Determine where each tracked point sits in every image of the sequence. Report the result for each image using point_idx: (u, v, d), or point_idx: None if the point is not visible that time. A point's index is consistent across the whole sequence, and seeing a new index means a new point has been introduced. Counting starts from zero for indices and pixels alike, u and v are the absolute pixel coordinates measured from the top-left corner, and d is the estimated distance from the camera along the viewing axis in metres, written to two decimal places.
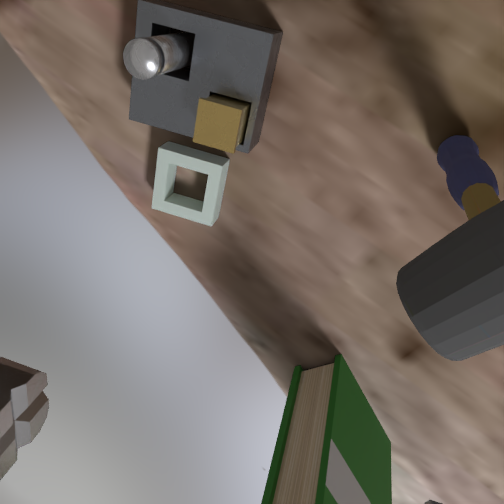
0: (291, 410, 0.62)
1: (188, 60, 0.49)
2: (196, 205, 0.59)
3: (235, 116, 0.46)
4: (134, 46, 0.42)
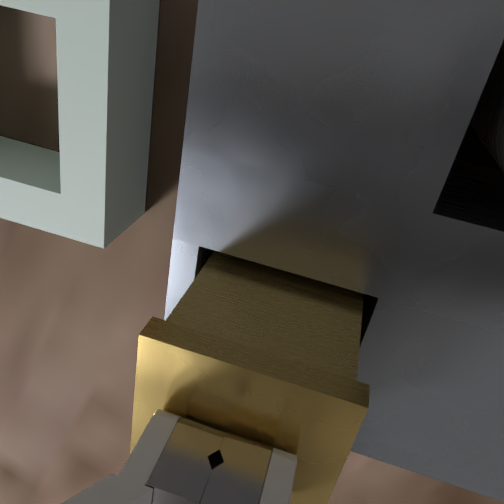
0: None
1: None
2: None
3: None
4: None
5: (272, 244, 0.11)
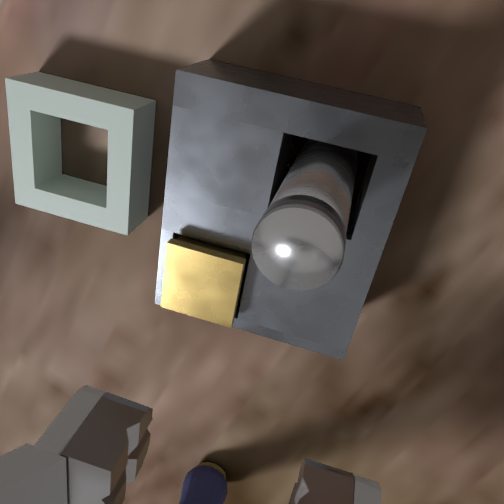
0: None
1: None
2: (46, 164, 0.31)
3: (219, 317, 0.27)
4: (325, 242, 0.17)
5: (204, 231, 0.26)
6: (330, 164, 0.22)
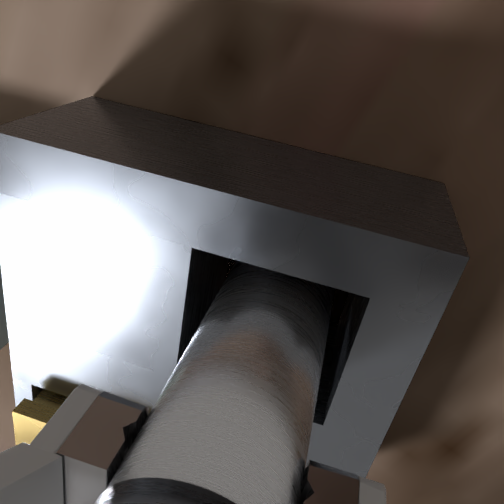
0: None
1: None
2: None
3: None
4: None
5: None
6: (275, 321, 0.11)
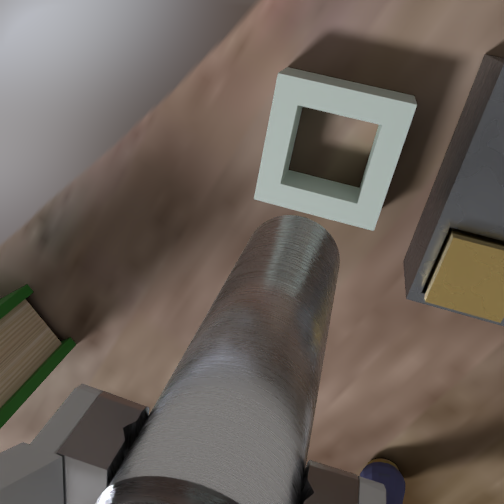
0: None
1: None
2: (288, 160, 0.31)
3: (490, 312, 0.27)
4: None
5: (486, 226, 0.26)
6: (275, 321, 0.11)
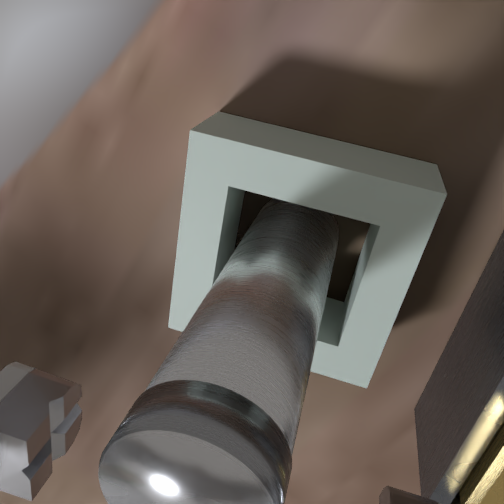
0: None
1: None
2: (223, 264, 0.18)
3: None
4: (238, 499, 0.08)
5: None
6: (280, 275, 0.13)
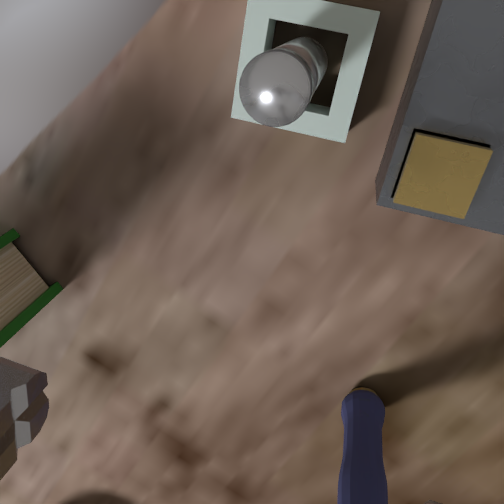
0: None
1: None
2: None
3: (454, 209, 0.29)
4: (296, 79, 0.22)
5: (447, 124, 0.28)
6: (301, 44, 0.27)
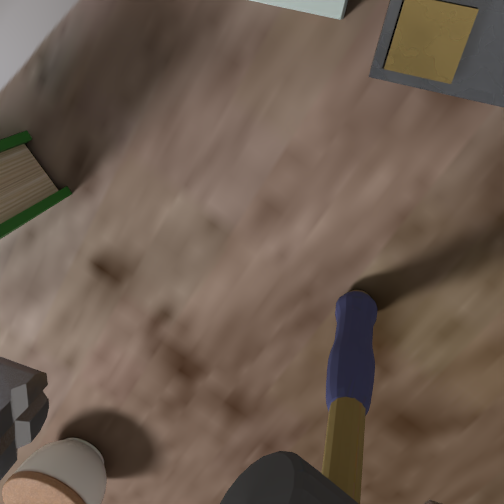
0: None
1: None
2: None
3: (441, 73, 0.31)
4: None
5: None
6: None
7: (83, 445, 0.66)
